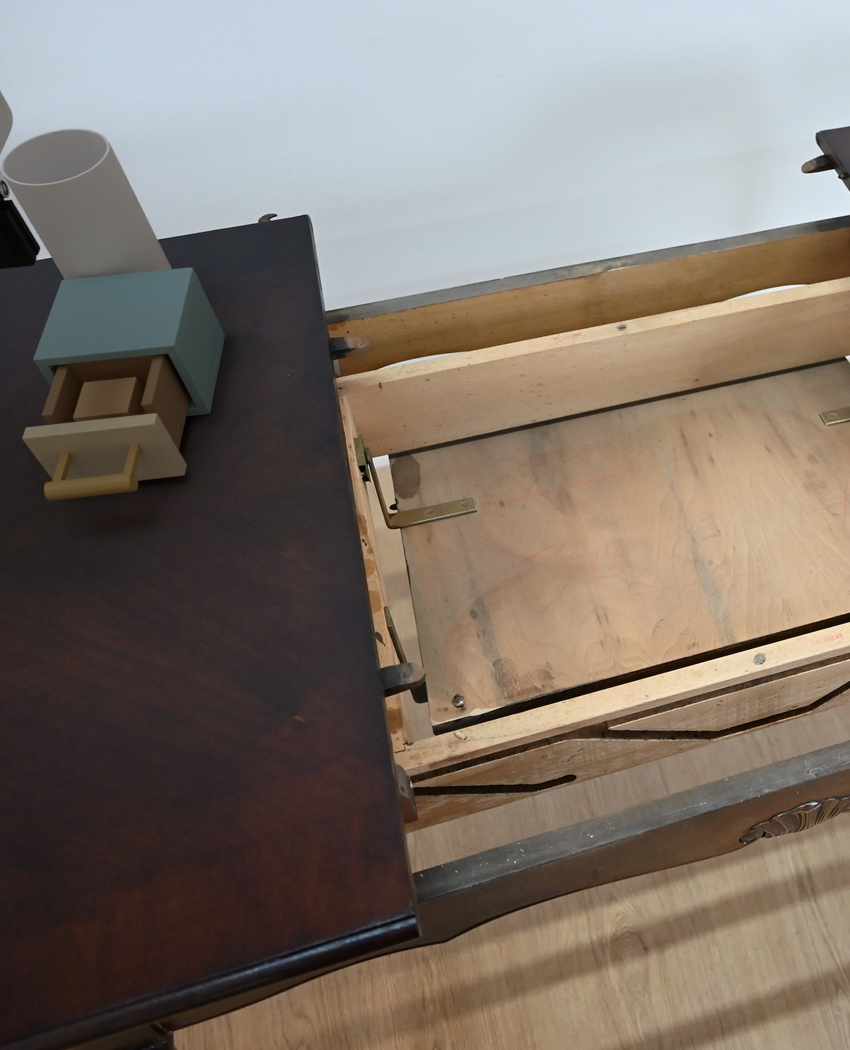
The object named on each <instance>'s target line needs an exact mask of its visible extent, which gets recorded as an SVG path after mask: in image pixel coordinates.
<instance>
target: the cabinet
mask: <svg viewBox="0 0 850 1050" xmlns="http://www.w3.org/2000/svg"><path fill="white" fill-rule="evenodd" d="M225 339H226V335H225V332H224V330H223V328H222V326H221V324H220V322H219V319H218V318H217V315H216V314H215V311H214V309H213V307H212V305H211V303H210V301H209V298H208V296H207V294H206V292H205V290H204V288H203V286H202V283H201V281H200V280H199V277H198V275H197V273H196V271H195V269H194V267H192V266H191V267H182V268H172V269H170V270H159V271H149V272H139V273H128V274H118V275H108V276H97V277H87V278H77V279H66V280H65V279H62V280H61V281H60V283H59V287H58V290H57V293H56V295H55V299H54V301H53V304H52V306H51V309H50V312H49V315H48V317H47V320H46V323H45V325H44V328H43V331H42V333H41V336H40V339H39V342H38V345H37V348H36V351H35V353H34V356H33V359H32V361H33V363H34V364H35V365H36V367H37V369H38V370H39V372H40V373H41V374H42V377H44V379H45V380H46V382H47V383H48V385H49V386H50V387H51V386H52V383H53V380H54V377H55V374H56V371H57V368H58V365H63V364H73V363H82V362H92V361H102V360H111V359H121V358H130V357H140V356H150V355H159V354H168V355H169V356H170V358H171V360H172V362H173V364H174V366H175V368H176V370H177V371H178V373H179V375H180V377H181V379H182V381H183V383H184V384H185V386H186V388H187V390H188V392H189V394H190V401H189V405H188V410H187V415H186V417H193V416H194V417H195V416H203V415H210V414H211V411H212V406H213V401H214V396H215V390H216V385H217V379H218V376H219V375H218V374H219V369H220V364H221V360H222V354H223V349H224V345H225Z"/></svg>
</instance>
